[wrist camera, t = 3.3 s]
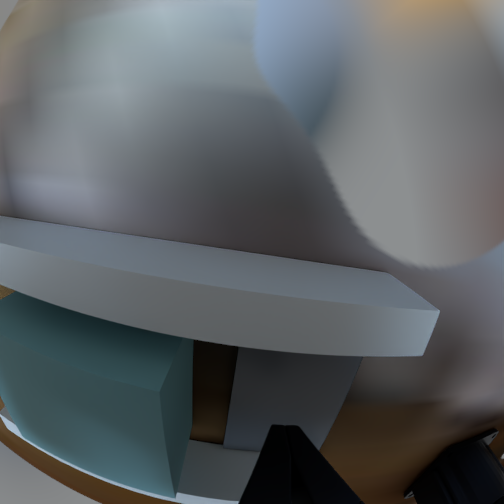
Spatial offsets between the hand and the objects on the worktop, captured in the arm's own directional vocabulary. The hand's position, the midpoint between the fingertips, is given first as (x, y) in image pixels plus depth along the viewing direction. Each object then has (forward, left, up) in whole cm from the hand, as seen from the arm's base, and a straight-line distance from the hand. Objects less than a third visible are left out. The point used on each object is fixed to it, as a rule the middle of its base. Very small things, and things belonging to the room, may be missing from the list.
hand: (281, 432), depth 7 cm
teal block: (+6, 0, -2) cm, 7 cm away
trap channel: (+5, 0, -2) cm, 5 cm away
